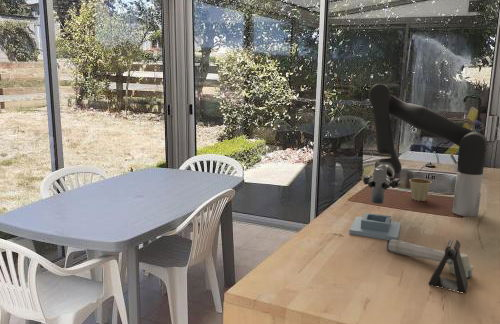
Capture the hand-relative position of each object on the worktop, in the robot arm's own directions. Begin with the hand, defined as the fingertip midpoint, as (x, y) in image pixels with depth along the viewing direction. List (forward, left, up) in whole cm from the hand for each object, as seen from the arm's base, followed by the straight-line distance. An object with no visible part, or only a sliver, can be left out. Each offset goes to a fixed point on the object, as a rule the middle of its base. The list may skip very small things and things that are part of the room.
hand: (378, 185), depth 148 cm
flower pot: (-13, -52, -17) cm, 56 cm away
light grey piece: (-18, +19, -18) cm, 31 cm away
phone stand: (-23, +31, -17) cm, 43 cm away
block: (0, -3, -17) cm, 17 cm away
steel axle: (0, -3, -7) cm, 7 cm away
